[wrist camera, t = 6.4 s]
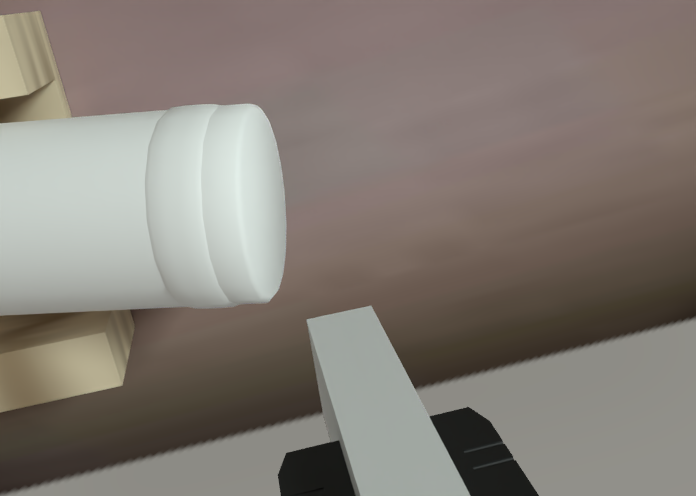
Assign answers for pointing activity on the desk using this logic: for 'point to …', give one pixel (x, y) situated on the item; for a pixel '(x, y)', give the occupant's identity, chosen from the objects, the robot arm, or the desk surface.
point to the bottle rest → (50, 328)
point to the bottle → (141, 211)
